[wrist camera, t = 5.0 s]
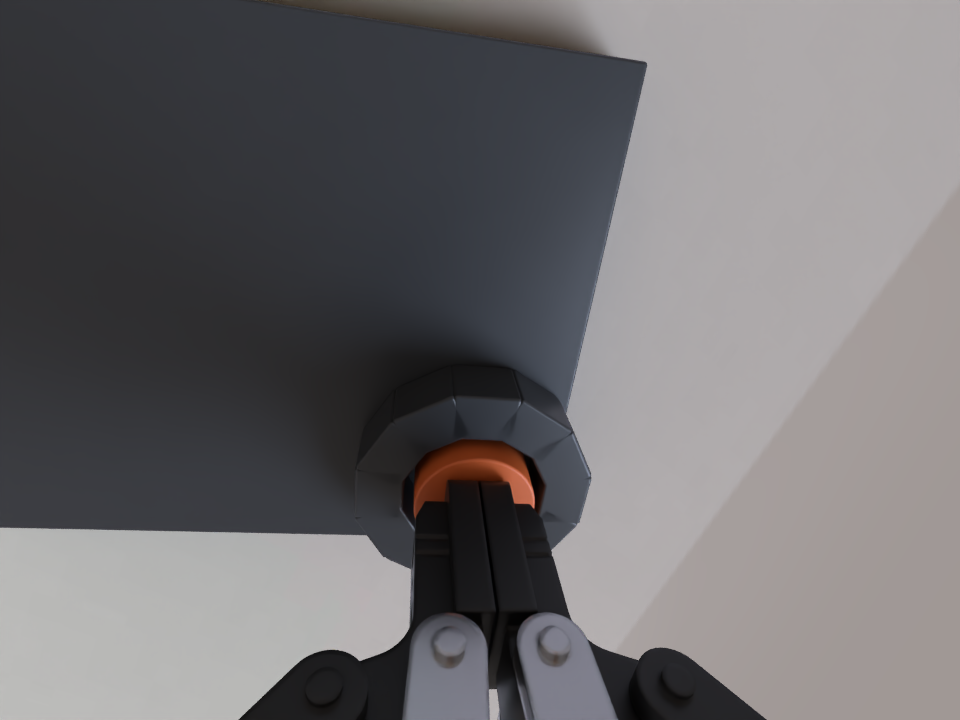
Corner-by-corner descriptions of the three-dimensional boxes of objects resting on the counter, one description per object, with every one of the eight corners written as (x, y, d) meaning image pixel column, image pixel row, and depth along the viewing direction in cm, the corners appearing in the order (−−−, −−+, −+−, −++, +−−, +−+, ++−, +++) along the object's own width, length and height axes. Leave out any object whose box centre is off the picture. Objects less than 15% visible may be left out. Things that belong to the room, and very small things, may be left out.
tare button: (533, 425, 13) (545, 461, 12) (515, 511, 15) (524, 553, 13) (418, 419, 13) (417, 456, 12) (411, 508, 14) (409, 551, 13)
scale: (640, 70, 12) (709, 59, 9) (541, 503, 17) (563, 582, 14) (-200, -61, 9) (-472, -133, 7) (4, 488, 15) (-95, 577, 12)
